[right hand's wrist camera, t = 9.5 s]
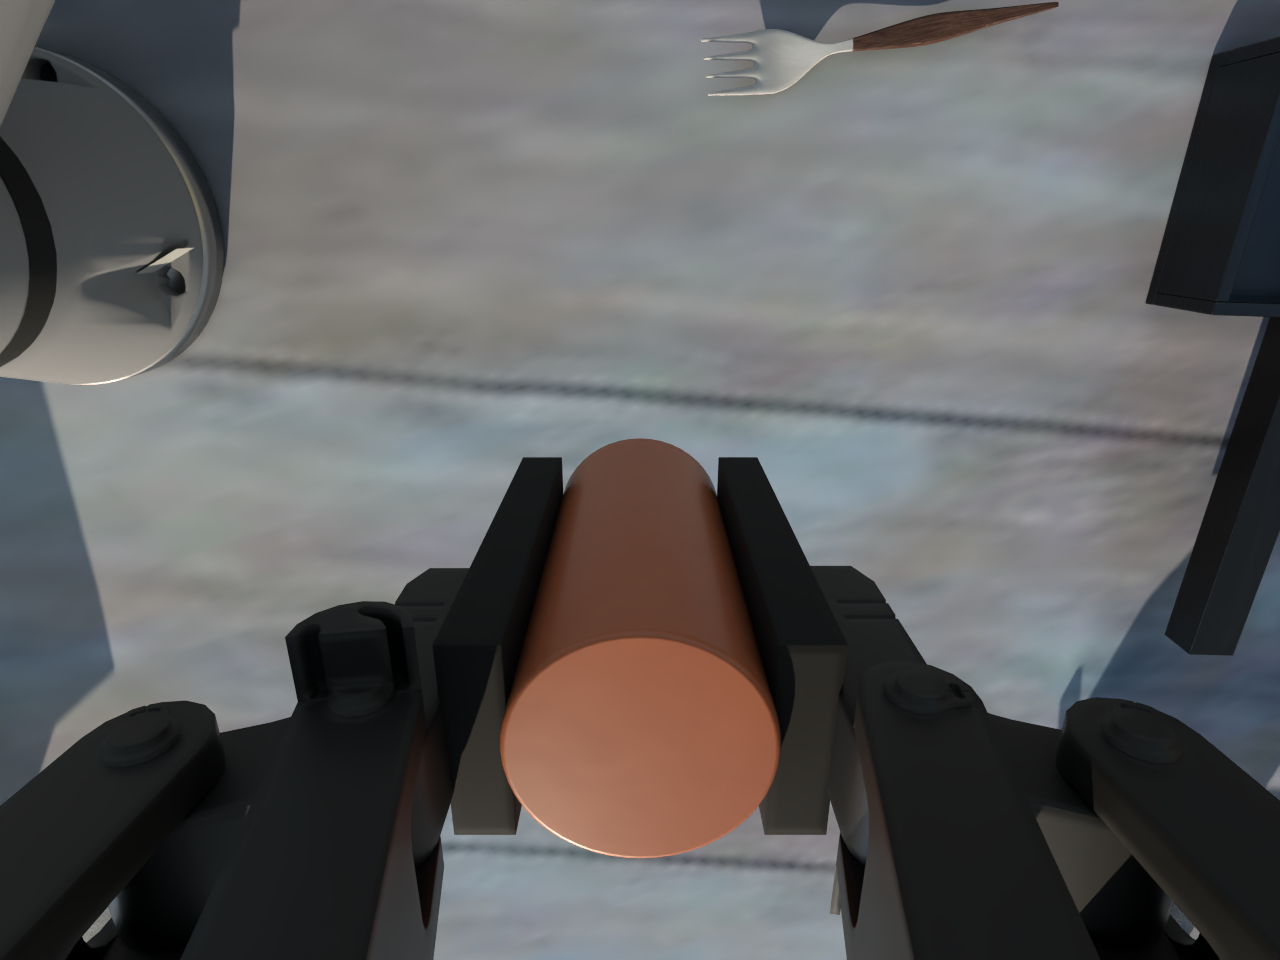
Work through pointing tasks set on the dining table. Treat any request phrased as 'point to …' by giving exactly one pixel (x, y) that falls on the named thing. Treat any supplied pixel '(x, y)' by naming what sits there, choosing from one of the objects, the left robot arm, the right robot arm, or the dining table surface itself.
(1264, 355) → the pan
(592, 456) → the peg
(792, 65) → the fork
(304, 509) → the dining table surface
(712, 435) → the dining table surface
